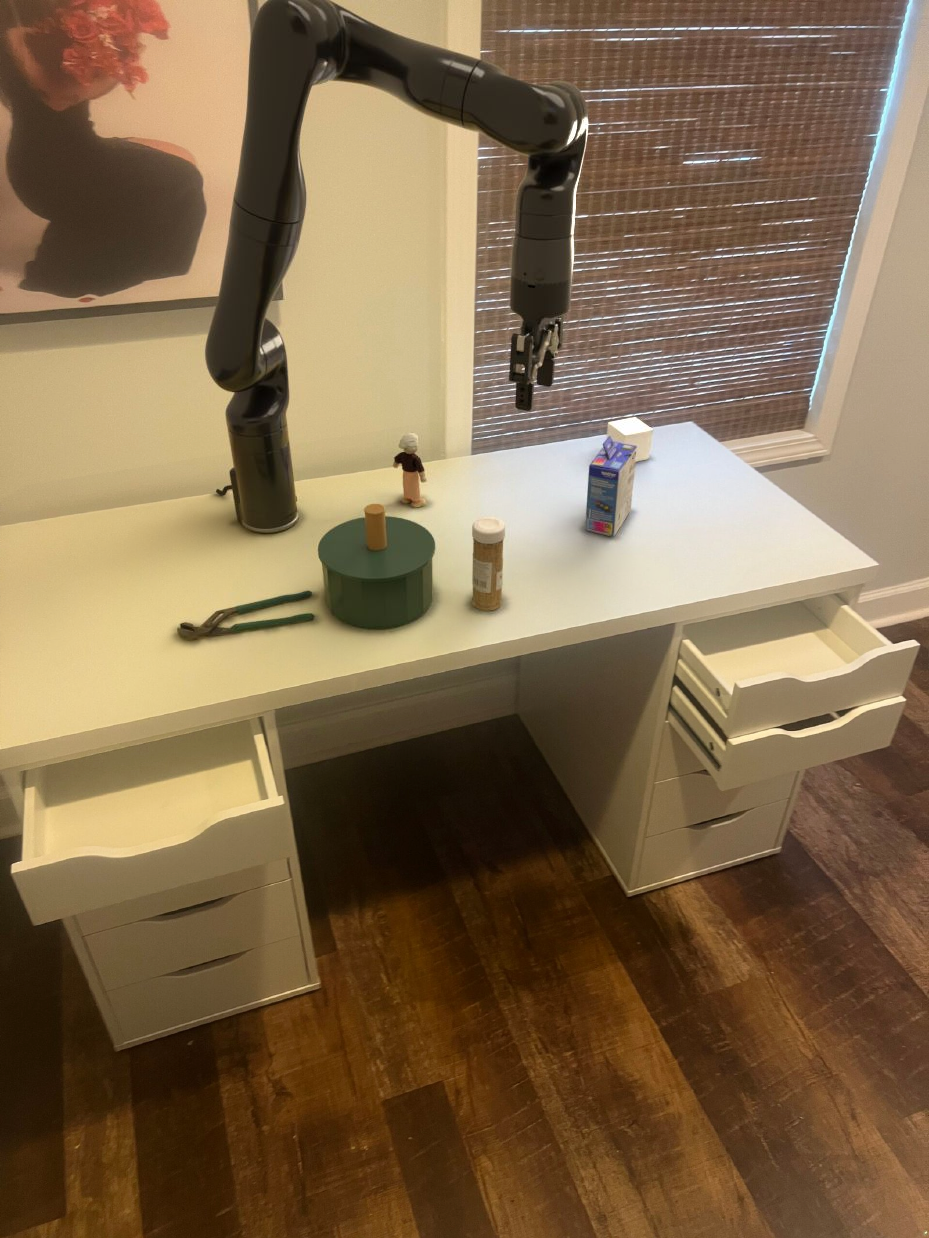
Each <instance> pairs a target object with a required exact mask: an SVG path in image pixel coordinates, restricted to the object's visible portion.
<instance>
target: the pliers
mask: <svg viewBox="0 0 929 1238" xmlns="http://www.w3.org/2000/svg"><path fill="white" fill-rule="evenodd" d="M311 596H313V592H312V591H311V590H305V591H302V592H298V593H291V594H290V593H289V594H283V595H278V596H274V597H271V598H267V599H262V600H257V601H254V602H249V603H245V604H244V603H243V604H240V605H236V606H233V607H228V608H224V609H219V610H216V611H214V613H212V615H210V617H208V618H207V619H206V620H205V621H204V622H203V623H202V624H201V625H200V626H195V625H194V624H193V623H190V622H187V621H183V622H180V623H179V626H180V627H177V628H176V631H177V634H178V635H179V637H181V638H182V639H185V640H188V641H194V640H197V639H198V638H201V637H213V636H218V635H219V636H220V635H225V634H226V635H228V634H235V633H239V632H245V631H254V630H259V629H266V628H273V627H279V626H286V625H287V626H288V625H291V624H295V623H298V622H303V621H313V620H315V617H316V615H315V614H314V613H312V612H308V613H307V612H306V613H300V614H295V615H291V616H286V617H279V618H272V619H262V620H254V621H248V622H240V623H234V624H233V625H232V626H230V627H221V626H220V624H221V623H222V622H223V621H225V619H228V618H229V617H231V616H233V615H242V614H245V613H249V612H253V611H257V610H261V609H264V608H269V607H272V606H276V605H279V604H283V603H287V602H295V601H300V600H305V599H307V598H310V597H311ZM219 616H220V617H219Z"/></svg>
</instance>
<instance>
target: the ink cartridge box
mask: <svg viewBox="0 0 929 1238" xmlns="http://www.w3.org/2000/svg"><path fill="white" fill-rule="evenodd" d="M636 454H637V446H635V445H629V444H624V443H619V442H614V441H613V440H612V438H611V436H609V437H608V438H607V439H606V438H605V440H604V441H603V443H602V447H601V449H600V450H599V452H598V453H597V455H595V457H594V458H593V460H592V461H591V462H590V464H589V465H588V477H587V478H588V479H587V491H586V493H587V494H586V507H585V509H586V510H585V525H584V526H585V527H584V530H585V531H587V532H592V533H595V534H600V535H604V536H607V537H612V538H613V537H615V536H616V534H617V533H618V531H619V530H620V528H621V526H622V525H623V524H624V522H625V520H626V519H627V517H628V515H629V514H630V512H631V511H632V501H633V492H634V491H633V490H634V483H635V482H634V481H635V472H636V463H637V462H636Z"/></svg>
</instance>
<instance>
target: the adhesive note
mask: <svg viewBox="0 0 929 1238" xmlns="http://www.w3.org/2000/svg"><path fill="white" fill-rule="evenodd" d="M653 431H654V429H653V428H651V427H650V426H649V425H647V424H646V423H645V422H643V421H642V420H640V419H639V418H637V417H636V416H634V417H628V418H624V419H618V420H614V421H609V422H607V430H606V438H605V440H606V439H607V438H608V437H609V436H611V438H612V440H613V441H614V442H619V443H624V444H629V445H635V446H637V454H636V463H637V462H641V461H646V460H649V459H650V453H651V447H652V446H651V445H652V439H653Z"/></svg>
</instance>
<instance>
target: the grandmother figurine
mask: <svg viewBox="0 0 929 1238" xmlns="http://www.w3.org/2000/svg"><path fill="white" fill-rule="evenodd" d="M398 448H400V450H403V451H400V452H399V453H398V454H396V455H395V456H394V457H393V459H394V460H393V463H392V467H393V468H394V469H399V467H400V465H401V469H402V489H403V498H402V499H401V503H403V504H409V503H410V506H411V507H412V508H421V507H425V506H426V505H427V502H426V501H427V500H425V499H424V498H423V497H421V495H422V494H421V487H420V482H421V483H423V484H424V483H426V482H427V477H426V472H425V468H424V464H423V462H422V460H421V458H420V457H419V456H418V455H417V454H416V453H417V451H418V449H419V437H418V435H417V434H416V433H414V432H408V433H406V434H404V435H403V436H402V437H401V439H400V440H399V443H398Z"/></svg>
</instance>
